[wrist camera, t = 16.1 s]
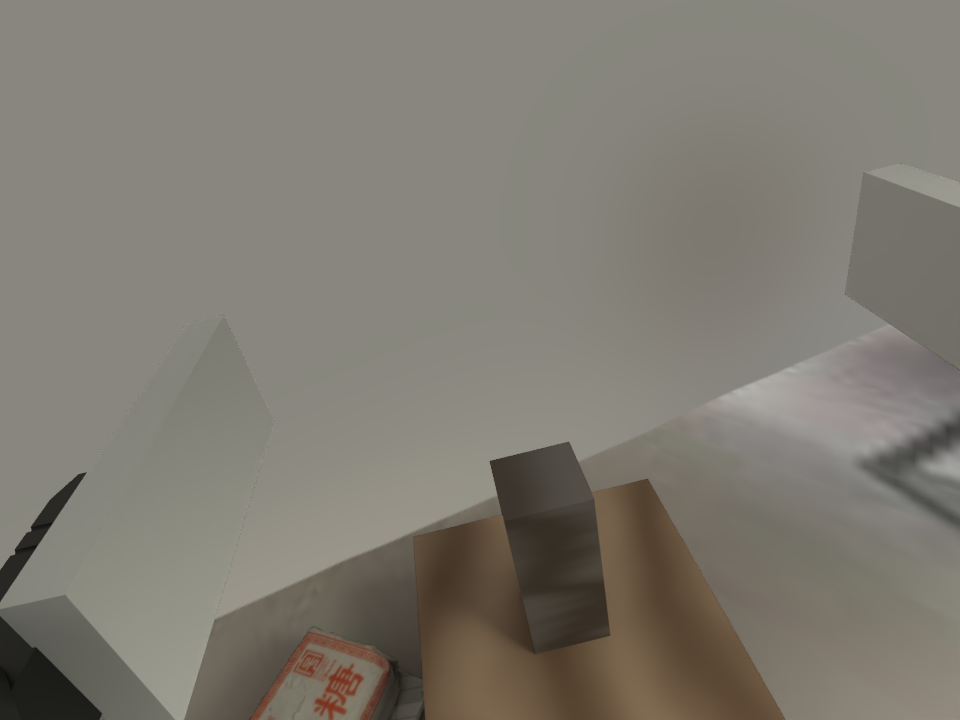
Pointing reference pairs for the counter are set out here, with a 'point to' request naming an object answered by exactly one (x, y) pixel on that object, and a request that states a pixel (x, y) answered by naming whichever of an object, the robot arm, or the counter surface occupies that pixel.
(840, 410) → the counter surface
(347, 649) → the packaged product
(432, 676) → the board with upright post
